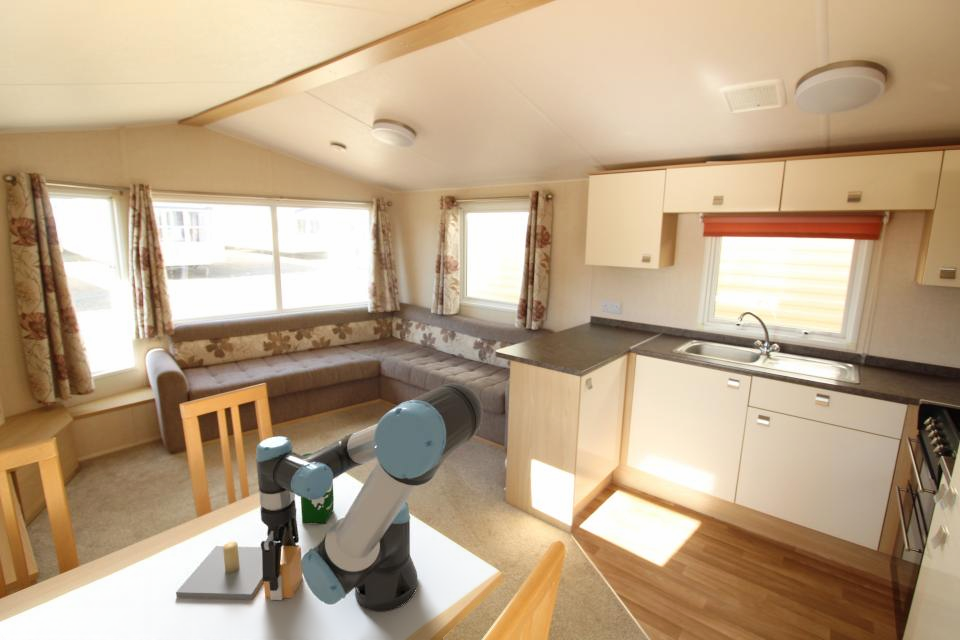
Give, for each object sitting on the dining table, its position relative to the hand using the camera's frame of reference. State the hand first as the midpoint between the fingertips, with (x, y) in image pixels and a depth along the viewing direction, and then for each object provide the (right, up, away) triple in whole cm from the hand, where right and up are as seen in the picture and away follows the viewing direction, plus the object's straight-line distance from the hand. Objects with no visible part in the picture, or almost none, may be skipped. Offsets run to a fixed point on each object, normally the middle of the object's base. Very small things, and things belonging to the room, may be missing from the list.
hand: (283, 586), depth 110 cm
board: (-15, +1, +4) cm, 15 cm away
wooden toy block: (0, 0, 0) cm, 0 cm away
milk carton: (-1, +5, +28) cm, 28 cm away
